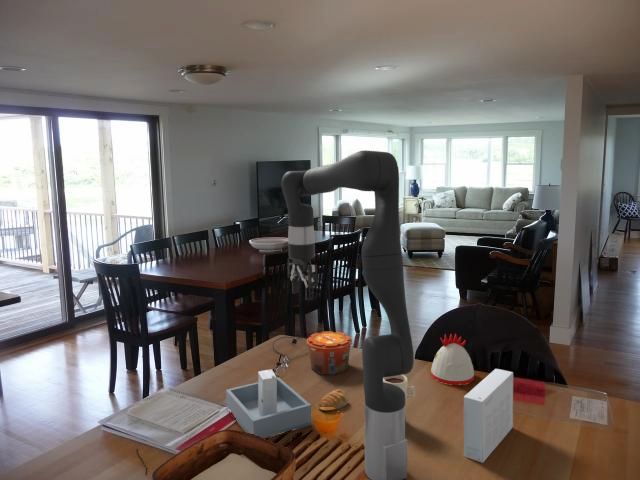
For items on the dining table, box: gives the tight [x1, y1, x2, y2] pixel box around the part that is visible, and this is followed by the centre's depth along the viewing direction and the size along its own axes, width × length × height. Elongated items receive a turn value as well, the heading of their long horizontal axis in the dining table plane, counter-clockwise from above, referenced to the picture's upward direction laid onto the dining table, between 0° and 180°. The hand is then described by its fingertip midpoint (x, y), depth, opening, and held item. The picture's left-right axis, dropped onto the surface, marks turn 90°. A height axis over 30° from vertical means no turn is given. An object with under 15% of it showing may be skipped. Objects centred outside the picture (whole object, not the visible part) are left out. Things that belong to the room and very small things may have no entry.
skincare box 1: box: [257, 368, 277, 417], centre depth 146 cm, size 6×4×12 cm
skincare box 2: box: [463, 368, 514, 464], centre depth 133 cm, size 21×5×16 cm, turn 141°
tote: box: [225, 376, 312, 438], centre depth 147 cm, size 21×17×6 cm
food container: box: [306, 330, 353, 375], centre depth 181 cm, size 16×16×11 cm
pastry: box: [318, 389, 350, 410], centre depth 154 cm, size 9×7×4 cm
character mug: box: [383, 374, 416, 422], centre depth 143 cm, size 11×7×13 cm, turn 77°
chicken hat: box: [430, 333, 475, 386], centre depth 172 cm, size 14×14×15 cm
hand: (302, 296), depth 151 cm, fingers open, 8 cm apart
